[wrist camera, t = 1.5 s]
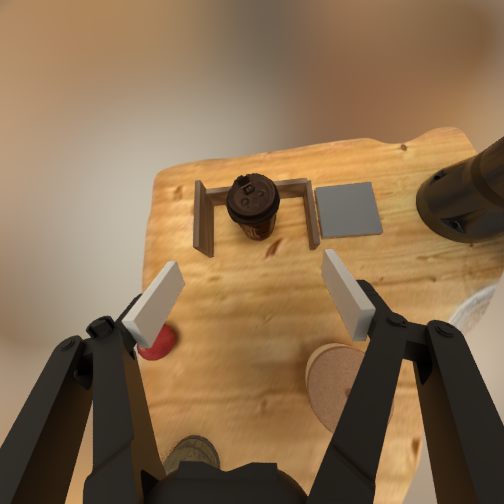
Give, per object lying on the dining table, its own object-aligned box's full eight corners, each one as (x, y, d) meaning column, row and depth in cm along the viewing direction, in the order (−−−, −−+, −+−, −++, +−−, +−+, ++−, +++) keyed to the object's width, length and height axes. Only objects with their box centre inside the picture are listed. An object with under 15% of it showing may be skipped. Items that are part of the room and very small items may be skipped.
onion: (158, 358, 35) (126, 375, 28) (151, 328, 37) (119, 336, 29) (186, 346, 35) (161, 360, 28) (178, 317, 37) (152, 321, 29)
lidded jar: (364, 341, 32) (400, 358, 23) (366, 413, 30) (407, 463, 21) (301, 332, 34) (311, 344, 25) (298, 400, 31) (308, 441, 22)
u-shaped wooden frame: (307, 191, 40) (315, 166, 32) (315, 249, 37) (326, 236, 29) (209, 202, 42) (195, 180, 35) (208, 257, 39) (192, 247, 31)
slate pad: (367, 185, 39) (370, 181, 38) (379, 234, 36) (383, 232, 35) (314, 190, 40) (315, 187, 39) (321, 239, 37) (323, 237, 36)
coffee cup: (244, 205, 41) (230, 165, 29) (281, 210, 40) (284, 169, 27) (236, 242, 39) (218, 216, 27) (275, 248, 38) (275, 223, 25)
